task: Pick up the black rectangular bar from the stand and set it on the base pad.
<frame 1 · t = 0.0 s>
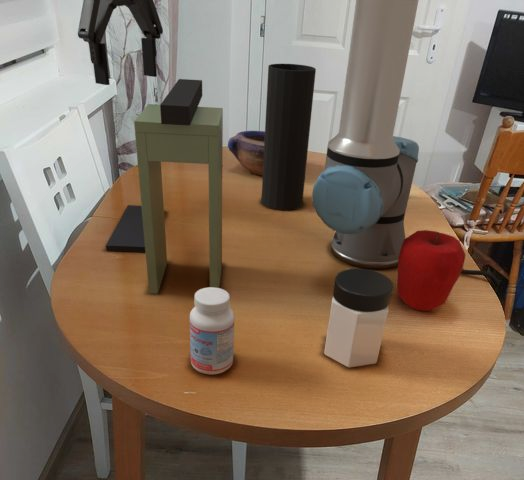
hand: (127, 80, 100), 28 cm above the table, tool pointing down, fingers open, 13 cm apart
apple: (418, 305, 91), on the table
black rectangular bar: (184, 108, 82), point 28 cm above the table, touching stand
bowl: (264, 171, 149), on the table
base pad: (137, 229, 111), on the table
pill bottle: (212, 364, 75), on the table
vase: (281, 203, 129), on the table
stand: (190, 263, 100), on the table
jar: (350, 352, 79), on the table
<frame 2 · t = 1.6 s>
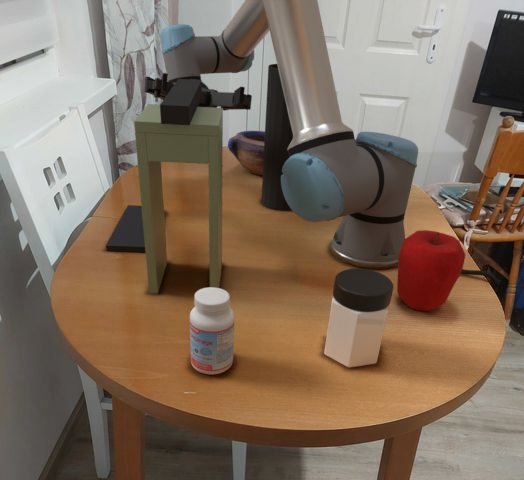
hand: (204, 88, 91), 29 cm above the table, tool pointing upward, fingers open, 13 cm apart
nothing on the table moved.
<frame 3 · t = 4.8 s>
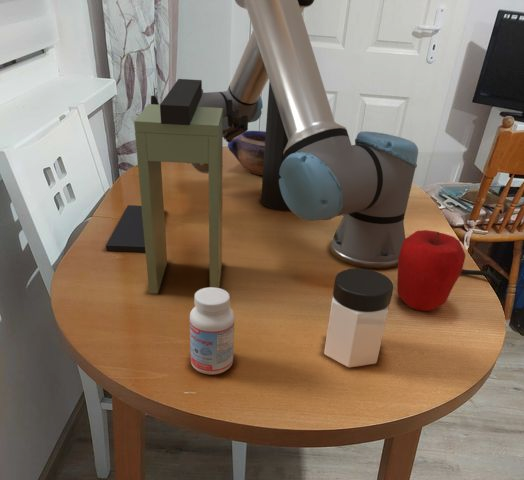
hand: (191, 105, 92), 26 cm above the table, tool pointing upward, fingers open, 13 cm apart
vase: (281, 202, 129), on the table, touching arm
everything else where it was.
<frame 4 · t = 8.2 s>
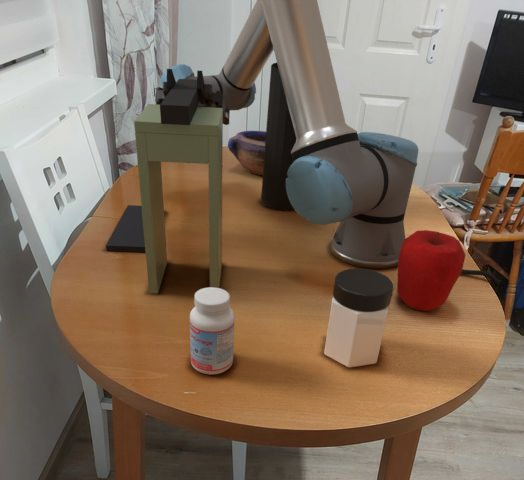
hand: (184, 78, 81), 32 cm above the table, tool pointing upward, fingers closed on black rectangular bar, 4 cm apart
black rectangular bar: (184, 108, 82), point 28 cm above the table, touching gripper, stand
everything else where it was.
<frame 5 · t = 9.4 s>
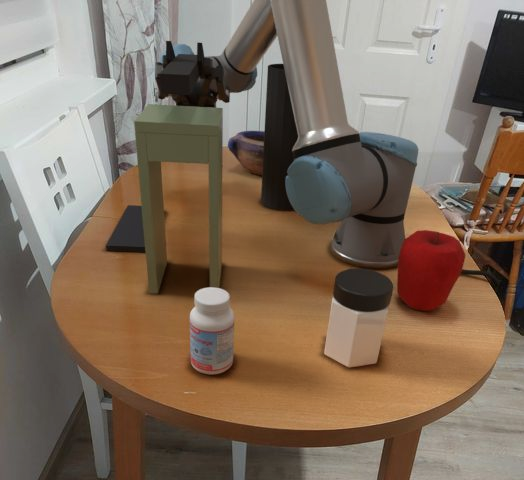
hand: (184, 51, 79), 36 cm above the table, tool pointing upward, fingers closed on black rectangular bar, 4 cm apart
black rectangular bar: (183, 81, 80), point 32 cm above the table, touching gripper
vase: (281, 203, 129), on the table
everything else where it was.
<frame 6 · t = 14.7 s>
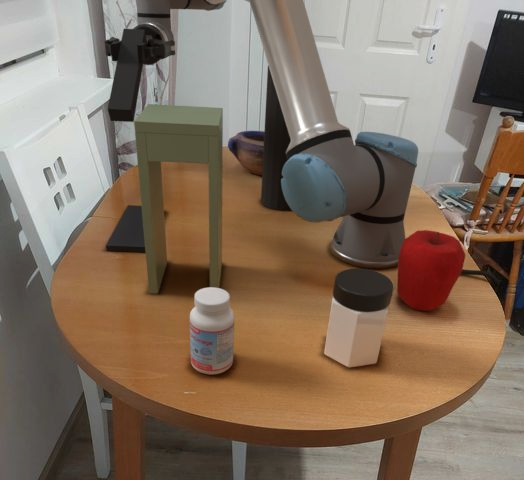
hand: (126, 53, 93), 33 cm above the table, tool horizontal, fingers closed on black rectangular bar, 4 cm apart
black rectangular bar: (129, 79, 96), point 29 cm above the table, tilted 28°, touching gripper
everything else where it was.
when the fingers open (8 cm above the table, at t = 20.5 s): black rectangular bar drops 4 cm, resting on base pad.
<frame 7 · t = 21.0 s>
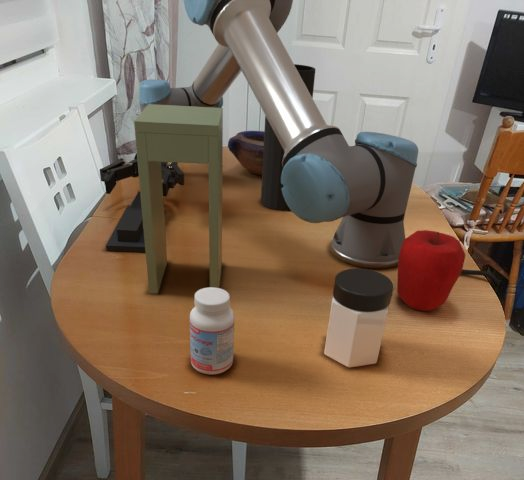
hand: (135, 188, 109), 8 cm above the table, tool horizontal, fingers open, 11 cm apart
black rectangular bar: (138, 220, 112), point 1 cm above the table, touching base pad
everything else where it was.
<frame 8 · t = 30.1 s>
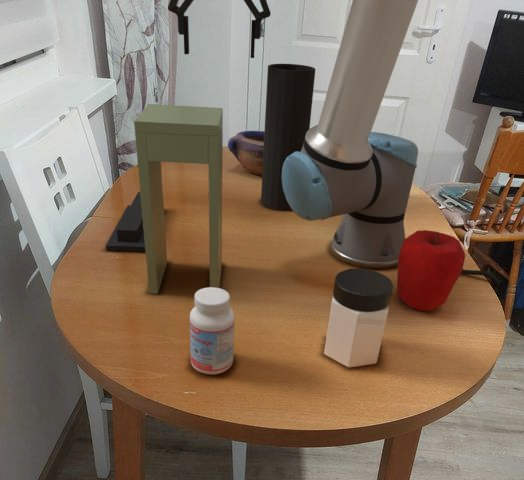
hand: (219, 55, 107), 32 cm above the table, tool pointing down, fingers open, 13 cm apart
nothing on the table moved.
at the end: black rectangular bar inside the target area on the base pad (2.0 cm from its centre), point 1.2 cm above the base pad's base; black rectangular bar touching base pad; the gripper is holding nothing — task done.
